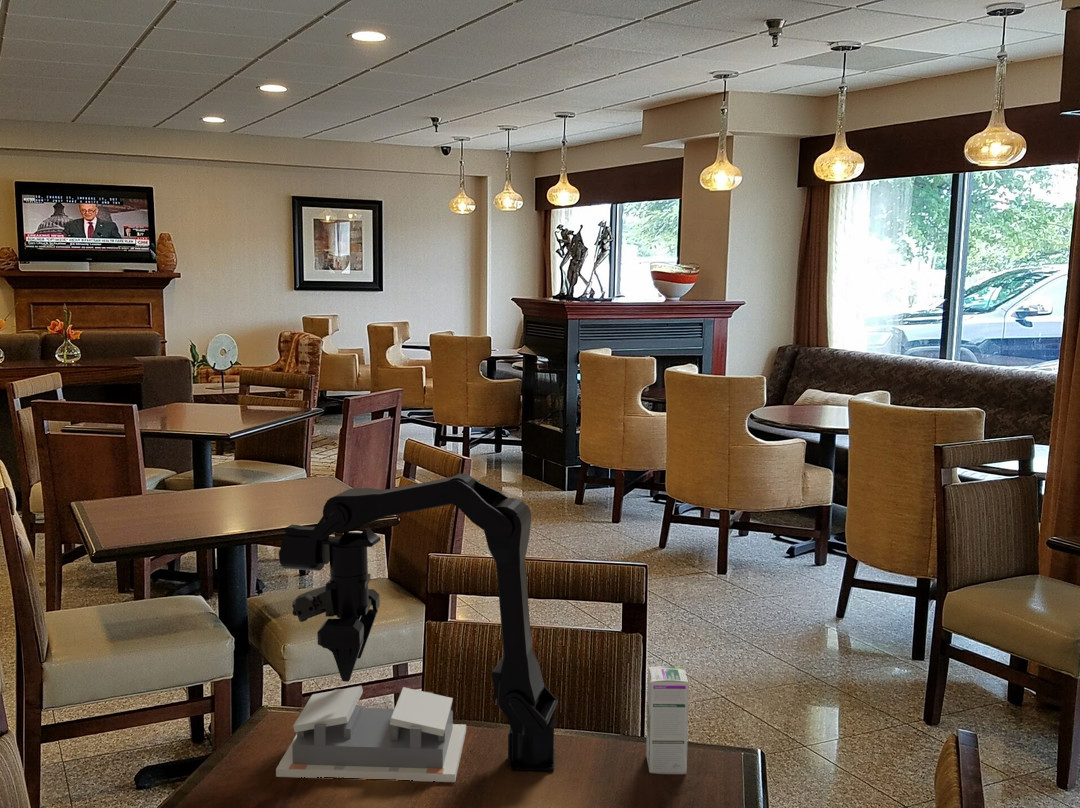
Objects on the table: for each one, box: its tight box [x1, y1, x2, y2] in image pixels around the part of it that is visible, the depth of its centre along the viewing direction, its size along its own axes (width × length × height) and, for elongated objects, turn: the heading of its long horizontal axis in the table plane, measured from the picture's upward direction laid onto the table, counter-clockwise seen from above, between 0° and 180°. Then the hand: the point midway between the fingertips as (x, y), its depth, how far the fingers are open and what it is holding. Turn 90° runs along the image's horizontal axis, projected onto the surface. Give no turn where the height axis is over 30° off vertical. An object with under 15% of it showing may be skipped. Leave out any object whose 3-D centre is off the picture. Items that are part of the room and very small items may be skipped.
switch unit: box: [275, 688, 467, 783], centre depth 150 cm, size 26×16×7 cm, turn 89°
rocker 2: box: [390, 686, 454, 736], centre depth 149 cm, size 8×11×2 cm
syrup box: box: [645, 665, 689, 775], centre depth 147 cm, size 6×6×14 cm
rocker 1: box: [293, 685, 364, 733], centre depth 150 cm, size 8×11×2 cm
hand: (351, 669), depth 153 cm, fingers open, 9 cm apart
